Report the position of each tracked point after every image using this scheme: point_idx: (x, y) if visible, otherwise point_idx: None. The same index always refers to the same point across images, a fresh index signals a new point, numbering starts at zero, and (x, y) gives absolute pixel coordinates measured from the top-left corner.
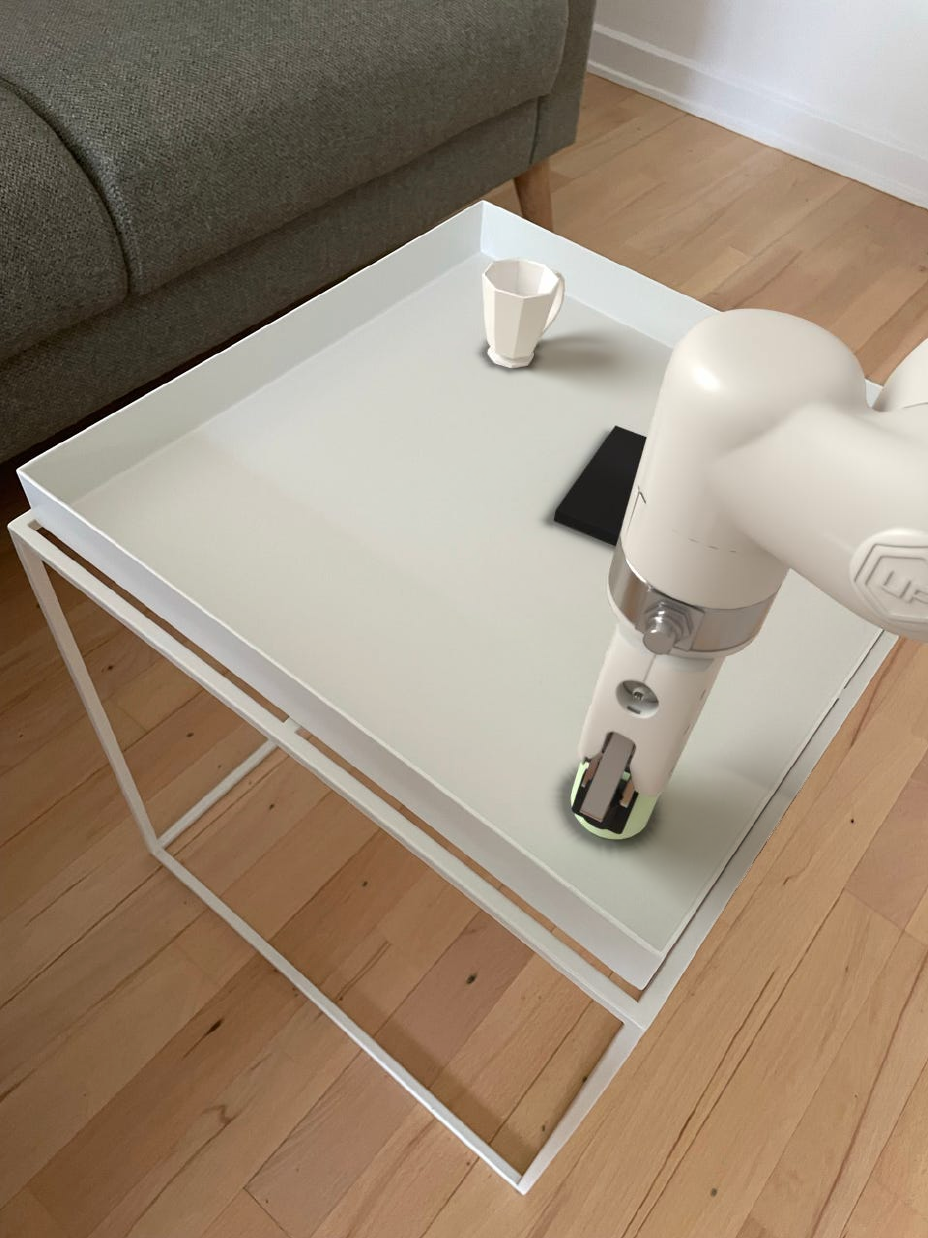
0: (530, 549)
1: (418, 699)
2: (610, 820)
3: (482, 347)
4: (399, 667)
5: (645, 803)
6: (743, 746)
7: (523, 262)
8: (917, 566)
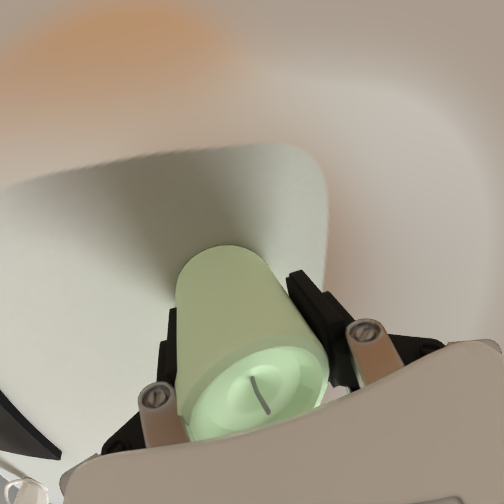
0: (90, 453)
1: None
2: (337, 302)
3: (48, 491)
4: None
5: (267, 286)
6: (33, 230)
7: None
8: None
